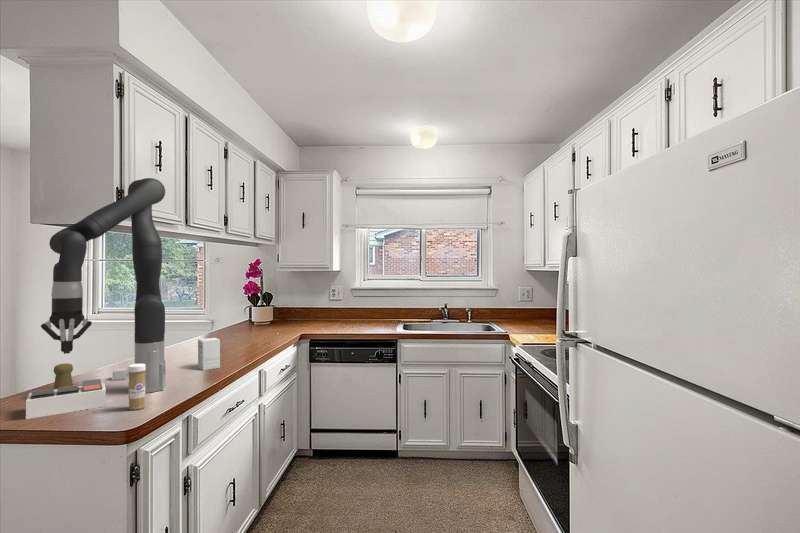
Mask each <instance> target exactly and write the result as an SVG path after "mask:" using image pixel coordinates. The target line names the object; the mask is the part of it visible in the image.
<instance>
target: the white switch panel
mask: <svg viewBox="0 0 800 533" xmlns="http://www.w3.org/2000/svg"><path fill="white" fill-rule="evenodd" d="M82 387H83V385H79V386H78V391H70V392H63V393H58V389H56V390H54V394H48V395H41V396H32V392H29V393H28V395H27V398H26V400H25V419H26V420H30V419H37V418H43V417H49V416H55V415H60V414H61V415H62V414H67V413H73V412H74V411H75V412H80V410H81V411H85V410H86V409H88V410H93V408H94V409H100V408H106V407H107V406H106V405H107V400H106V398H107V396H106V395H107V390H106V389H107V388H106V385H105V382H103V383H102V382H101V390H95V391H88V392H82ZM105 406H106V407H105ZM99 407H100V408H99ZM86 411H87V410H86ZM75 412H74V413H75Z"/></svg>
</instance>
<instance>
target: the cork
mask: <svg viewBox="0 0 800 533" xmlns="http://www.w3.org/2000/svg"><path fill="white" fill-rule="evenodd" d="M73 371H74V366H73V364H72V363H59V364H56V365H55V366H54V367H53V374H54V375H55V378H54V383H53V388H52V389H53V390H56V389H58V388H60V387H68V386H74V384H73V379H72V372H73Z"/></svg>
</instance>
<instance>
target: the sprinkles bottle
mask: <svg viewBox="0 0 800 533" xmlns="http://www.w3.org/2000/svg"><path fill="white" fill-rule="evenodd" d="M127 368H128V372H129V378H128V410H130V411H137V410H142V409H144V408H145V407H146V393H145V370H146V365H145V364H135V363H134V364H129V365H128V367H127Z"/></svg>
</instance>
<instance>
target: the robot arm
mask: <svg viewBox="0 0 800 533" xmlns="http://www.w3.org/2000/svg"><path fill="white" fill-rule="evenodd" d="M165 195H166V188H165V186H164V184H163V183H162V182H161V181H160V180H158V178H157V179H156V178H153V177H152V178H151V177H148V178H147V177H146V178H142V179H137V180H134V181H131V183H130V184H129V185H128V188H127V194H126V196H123V197H122V198H119V199H118V200H115V201H113V202H111V203H109V204H107V205H105V206H103V207H100V208H98V209H97V210H95V211H94V212H92V213H90V214H89V215H86V217H83V219H81V220H80V221H78V222H75V223H74V224H71V225H69V226H67V227H65V228H62V229H60V230H59V231H57V232H56V233H54V234H53V235H52V236H51V237H50V239H49V247H50V249H51V250H52V251H53V252H54V253H56V254H58V255H59V258H58V262H57V263H55V264H54V266H53V270H52V271H53V272H52V288H51V293H50V294H51V315H50V317H49V318H48V320H47V321H46V322H44V323H41V325H40V328H41V329H42V330H43V331H44V332H45V333H47V334H48V335H49V337H51V338H52V339H53V340H54V341H59V342H60V351H61V353H63V354H64V355H65V354H66V355H67V354H71V352H72V351H73V348H74V345H73V344H74V340H77V339H80V338H81V336H82V335H84V333H85V332H86V331H87V330H88V329H89V328H90V327H91V326H92V324H93V321H91V320H88V319H87V318H85V315H84V314H83V306H84V305H83V295H84V293H83V288H84V287H83V282H82V281H83V264H84V263H85V259H86V253H87V249H88V248H87V247H88V245H87V244H88V243H87V242H88V241H91V240H95V239H98V238H100V237H101V236H103V235H105V234H106V233H108V232H109V231H111V230H112V229H114V228H115V227H116V226H118V225H119V224H121V223H122V222H124V221H125V220H126V219H128V218H130V217H131V218H130V219H131V238H132V239H131V246H132V247H131V249H132V250H131V252H132V263H133V264H132V265H133V271H134V272H133V273H134V277H135V281H136V282H135V283H136V290H135V292H136V293H135V303H134V311H133V312H134V364H145V365H146V370H145V394H146V393H154V392H159V391H163V390H164V389H165V388H166V360H165V333H166V309H165V308H166V307H165V305H164V303H163V300H162V295H161V288H160V286H161V285H160V284H161V283H160V281H161V279H160V278H161V273H162V266H163V248H162V247H163V246H162V245H163V243H162V239H161V236H160V235H159V234H160V233H159V231H158V230H157V228H156V226H155V223H154V220H153V205H155V204H159V203H161V201H163V199H164V198H165ZM80 324H81V325H82V327H81V328H80V329H79V331H78V332H76V333H75V334H74V332H75V329H76V328H78V327H79V326H80ZM52 325H53V327H55V328H56V329H57V330H59V334H58V333H56V331H54V330H53V329H52ZM67 330H68V331H67ZM66 331H67V332H68V333H66ZM67 334H68V335H67Z"/></svg>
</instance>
